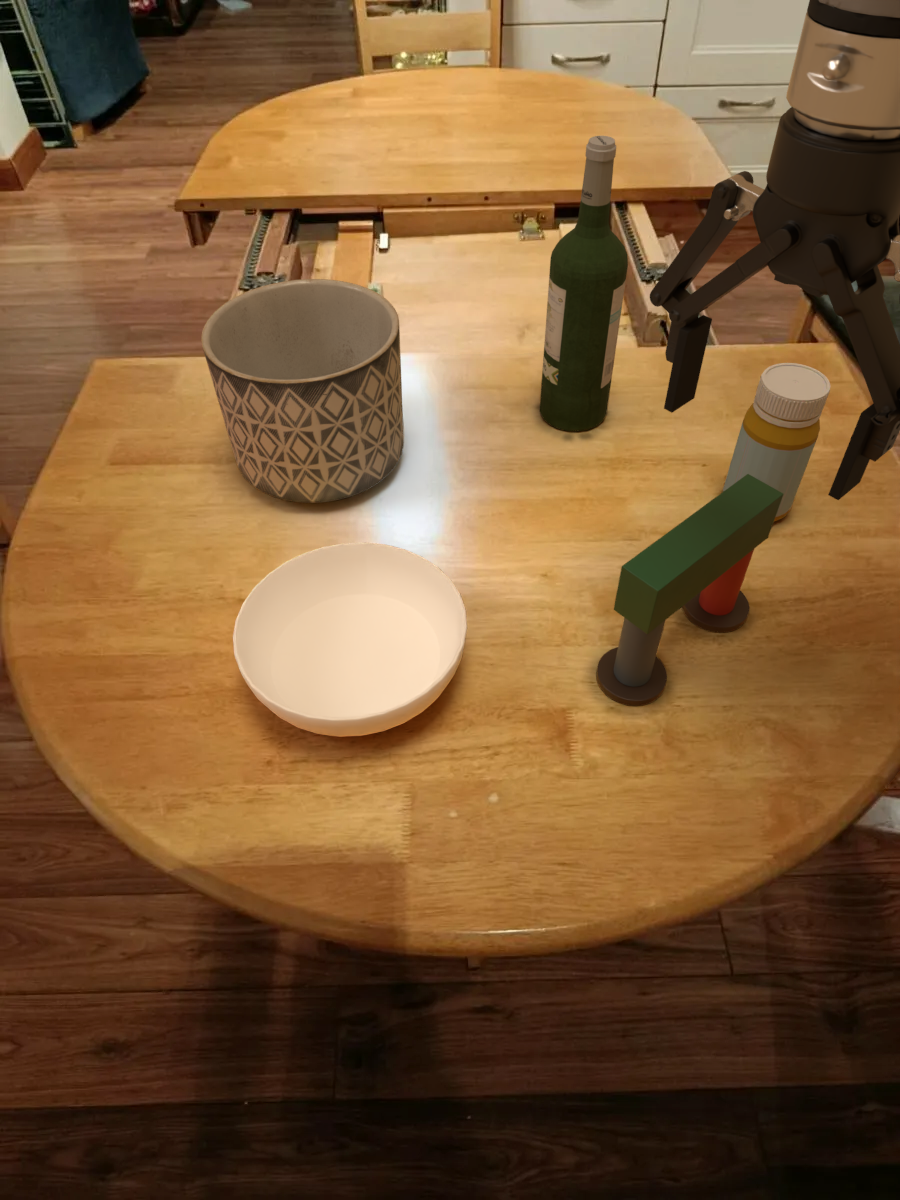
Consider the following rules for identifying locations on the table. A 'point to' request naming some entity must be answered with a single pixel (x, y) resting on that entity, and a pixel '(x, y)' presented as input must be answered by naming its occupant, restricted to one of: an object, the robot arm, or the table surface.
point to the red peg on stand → (721, 601)
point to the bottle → (780, 430)
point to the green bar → (696, 553)
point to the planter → (309, 387)
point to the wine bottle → (584, 304)
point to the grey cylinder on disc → (633, 667)
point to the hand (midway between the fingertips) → (756, 444)
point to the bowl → (350, 638)
